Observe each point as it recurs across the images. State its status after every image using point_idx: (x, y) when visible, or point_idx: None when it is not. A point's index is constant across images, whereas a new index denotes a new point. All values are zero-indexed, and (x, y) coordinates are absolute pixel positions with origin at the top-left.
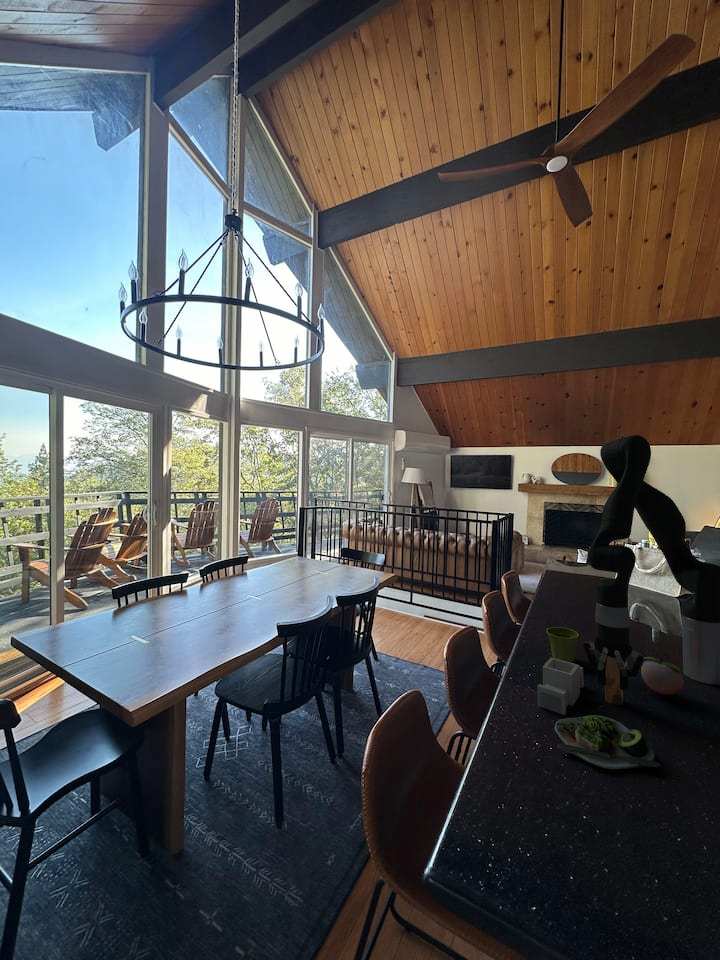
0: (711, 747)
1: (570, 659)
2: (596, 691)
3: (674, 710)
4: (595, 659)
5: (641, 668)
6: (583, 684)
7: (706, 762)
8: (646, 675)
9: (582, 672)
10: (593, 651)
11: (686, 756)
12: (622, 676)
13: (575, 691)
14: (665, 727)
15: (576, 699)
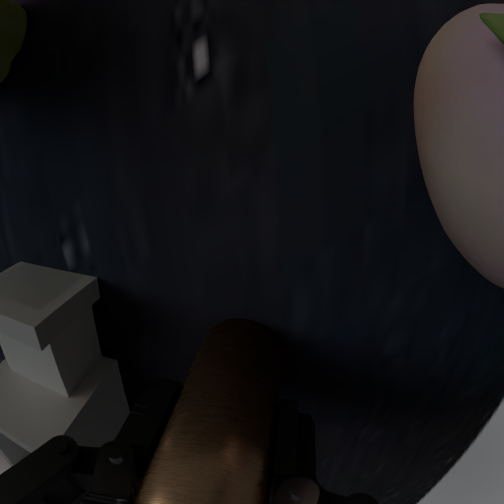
0: (482, 430)
1: (3, 60)
2: (155, 300)
3: (484, 292)
4: (66, 472)
5: (449, 141)
6: (92, 280)
7: (440, 475)
8: (467, 255)
9: (53, 330)
10: (22, 497)
11: (409, 482)
12: (271, 497)
13: (113, 434)
14: (410, 423)
15: (125, 402)
